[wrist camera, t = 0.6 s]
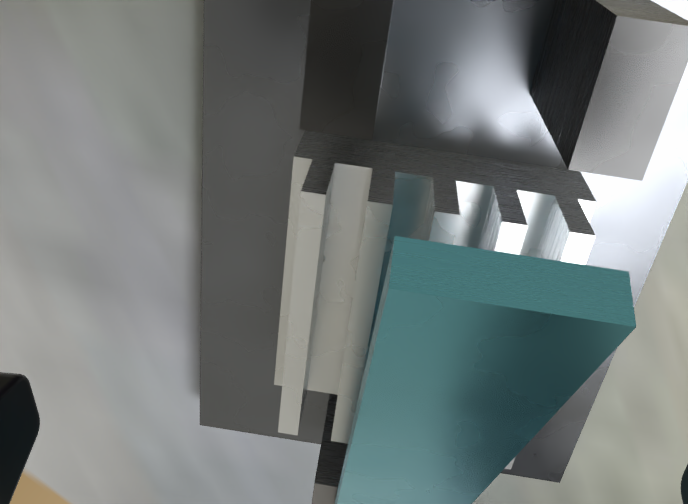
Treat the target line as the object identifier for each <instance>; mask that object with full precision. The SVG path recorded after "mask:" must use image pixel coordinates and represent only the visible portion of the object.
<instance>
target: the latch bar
mask: <svg viewBox="0 0 688 504" xmlns="http://www.w3.org/2000/svg"><path fill="white" fill-rule="evenodd" d="M635 328H636V322H635V314H634V307H633V299H632V291H631V284H630V276H629V271H622V270H616V269H609V268H603V267H596V266H590V265H583V264H576V263H570V262H563V261H557V260H550V259H544V258H537V257H530V256H524V255H517V254H511V253H504V252H498V251H491V250H485V249H478V248H471V247H465V246H458V245H452V244H445V243H439V242H432V241H426V240H419V239H412V238H406V237H399V236H395V237H394V241H393V246H392V250H391V255H390V259H389V264H388V268H387V272H386V277H385V281H384V286H383V290H382V295H381V299H380V304H379V308H378V312H377V317H376V321H375V326H374V330H373V335H372V339H371V344H370V348H369V352H368V357H367V361H366V366H365V370H364V375H363V379H362V383H361V388H360V392H359V397H358V401H357V406H356V410H355V415H354V419H353V423H352V428H351V432H350V437H349V441H348V446H347V450H346V455H345V459H344V463H343V468H342V472H341V477H340V481H339V486H338V490H337V494H336V499H335V503H334V504H472V503H473V502H474V501H475V500H476V498H477V497H478V496H479V495H480V494H481V493H482V492H483V491H484V490H485V489H486V488H487V487H488V486H489V484H490V483H491V482H492V481H493V480H494V479H495V478H496V477H497V476H498V475H499V474H500V473H501V472H502V470H503V469H504V468H505V467H506V466H507V465H508V464H509V463H510V462H511V461H512V460H513V459H514V458H515V457H516V455H517V454H518V453H519V452H520V451H521V450H522V449H523V448H524V447H525V446H526V445H527V444H528V443H529V441H530V440H531V439H532V438H533V437H534V436H535V435H536V434H537V433H538V432H539V431H540V430H541V429H542V428H543V426H544V425H545V424H546V423H547V422H548V421H549V420H550V419H551V418H552V417H553V416H554V415H555V414H556V412H557V411H558V410H559V409H560V408H561V407H562V406H563V405H564V404H565V403H566V402H567V401H568V400H569V398H570V397H571V396H572V395H573V394H574V393H575V392H576V391H577V390H578V389H579V388H580V387H581V386H582V385H583V383H584V382H585V381H586V380H587V379H588V378H589V377H590V376H591V375H592V374H593V373H594V372H595V371H596V369H597V368H598V367H599V366H600V365H601V364H602V363H603V362H604V361H605V360H606V359H607V358H608V357H609V356H610V354H611V353H612V352H613V351H614V350H615V349H616V348H617V347H618V346H619V345H620V344H621V343H622V342H623V340H624V339H625V338H626V337H627V336H628V335H629V334H630V333H631V332H632V331H633V330H634V329H635Z"/></svg>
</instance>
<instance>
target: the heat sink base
mask: <svg viewBox="0 0 688 504" xmlns="http://www.w3.org/2000/svg"><path fill="white" fill-rule="evenodd" d="M687 182H688V0H204V60H203V159H202V259H201V359H200V425H204V426H210V427H216V428H223V429H229V430H235V431H241V432H248V433H254V434H260V435H266V436H272V437H279V438H285V439H291V440H297V441H304V442H310V443H316V444H321V449H320V455H319V460H318V466H317V472H316V478H315V484H314V491H313V498H312V504H334V503H335V499H336V494H337V490H338V486H339V481H340V477H341V472H342V468H343V463H344V459H345V455H346V450H347V446H348V441H349V437H350V432H351V428H352V423H353V419H354V415H355V410H356V406H357V401H358V397H359V392H360V388H361V383H362V379H363V375H364V370H365V366H366V361H367V357H368V352H369V348H370V344H371V339H372V335H373V330H374V326H375V321H376V317H377V312H378V308H379V304H380V299H381V295H382V290H383V286H384V281H385V277H386V272H387V268H388V264H389V259H390V255H391V250H392V246H393V241H394V237H395V236H399V237H406V238H412V239H419V240H426V241H432V242H439V243H445V244H452V245H458V246H465V247H471V248H478V249H485V250H491V251H498V252H504V253H511V254H517V255H524V256H530V257H537V258H544V259H550V260H557V261H563V262H570V263H576V264H583V265H590V266H596V267H603V268H609V269H616V270H622V271H629V276H630V284H631V291H632V299H633V307H634V306H635V304H636V302H637V299H638V297H639V295H640V292H641V290H642V288H643V285H644V283H645V281H646V278H647V276H648V273H649V271H650V269H651V266H652V264H653V262H654V259H655V257H656V255H657V252H658V250H659V248H660V245H661V243H662V241H663V238H664V236H665V234H666V231H667V229H668V226H669V224H670V222H671V219H672V217H673V215H674V212H675V210H676V208H677V205H678V203H679V201H680V198H681V196H682V194H683V191H684V189H685V186H686V184H687ZM616 349H617V348H616ZM616 349H615V350H614V351H613V352H612V353H611V354H610V356H609V357H608V358H607V359H606V360H605V361H604V362H603V363H602V364H601V365H600V366H599V367H598V368H597V369H596V371H595V372H594V373H593V374H592V375H591V376H590V377H589V378H588V379H587V380H586V381H585V382H584V383H583V385H582V386H581V387H580V388H579V389H578V390H577V391H576V392H575V393H574V394H573V395H572V396H571V397H570V398H569V400H568V401H567V402H566V403H565V404H564V405H563V406H562V407H561V408H560V409H559V410H558V411H557V412H556V414H555V415H554V416H553V417H552V418H551V419H550V420H549V421H548V422H547V423H546V424H545V425H544V426H543V428H542V429H541V430H540V431H539V432H538V433H537V434H536V435H535V436H534V437H533V438H532V439H531V440H530V441H529V443H528V444H527V445H526V446H525V447H524V448H523V449H522V450H521V451H520V452H519V453H518V454H517V455H516V457H515V458H514V459H513V460H512V461H511V462H510V463H509V464H508V465H507V466H506V467H505V468H504V469H503V470H502V472H501V473H503V474H510V475H516V476H522V477H528V478H535V479H541V480H547V481H553V482H560V481H561V478H562V476H563V473H564V471H565V469H566V466H567V464H568V462H569V459H570V457H571V455H572V452H573V450H574V448H575V445H576V443H577V441H578V438H579V436H580V433H581V431H582V429H583V426H584V424H585V422H586V419H587V417H588V415H589V412H590V410H591V408H592V405H593V403H594V401H595V398H596V396H597V393H598V391H599V389H600V386H601V384H602V382H603V379H604V377H605V375H606V372H607V370H608V368H609V365H610V363H611V361H612V358H613V356H614V353H615V351H616Z"/></svg>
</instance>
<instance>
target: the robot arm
mask: <svg viewBox="0 0 688 504" xmlns="http://www.w3.org/2000/svg"><path fill="white" fill-rule="evenodd" d="M39 425H40V418H39V413H38V410H37V406H36V403H35V400H34V396H33V393H32V389H31V386H30V383H29V380H28V379H27V378H26V377H25V376H24V375H21V374H14V373H2V372H0V504H9V503H10V501H11V498H12V496H13V493H14V491H15V489H16V486H17V484H18V481H19V479H20V477H21V474H22V472H23V469H24V467H25V464H26V462H27V459H28V457H29V454H30V452H31V450H32V447H33V445H34V442H35V440H36V437H37V435H38V431H39ZM681 495H682V500H683V504H688V465H687V467H686V469H685V471H684V474H683V476H682V481H681Z"/></svg>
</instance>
